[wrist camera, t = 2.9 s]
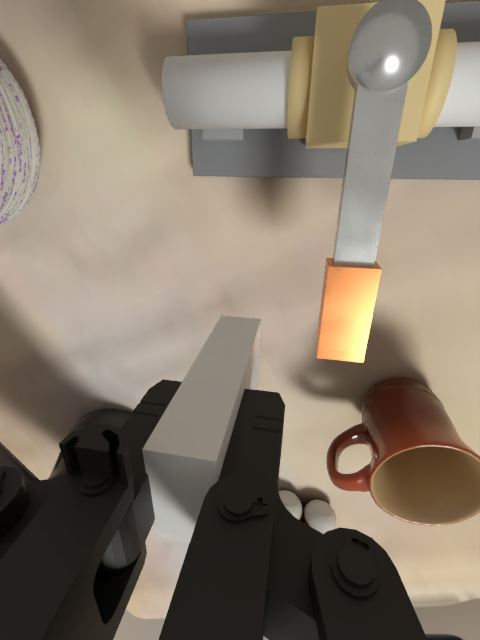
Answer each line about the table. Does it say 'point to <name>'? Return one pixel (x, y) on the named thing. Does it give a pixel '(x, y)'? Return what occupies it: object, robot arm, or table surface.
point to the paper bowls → (16, 148)
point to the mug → (411, 457)
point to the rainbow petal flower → (310, 512)
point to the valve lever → (369, 169)
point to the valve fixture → (319, 95)
